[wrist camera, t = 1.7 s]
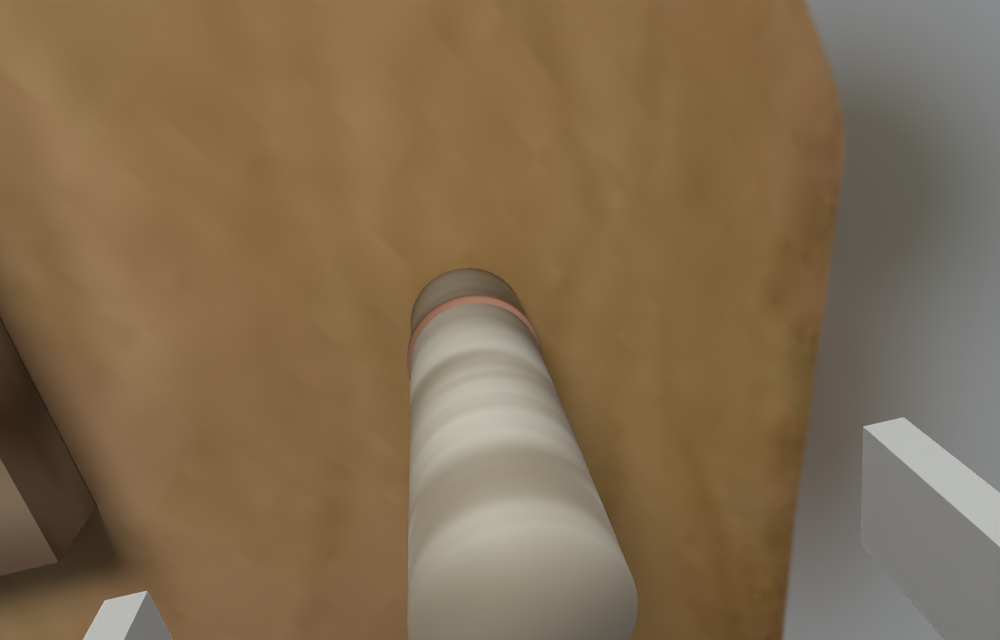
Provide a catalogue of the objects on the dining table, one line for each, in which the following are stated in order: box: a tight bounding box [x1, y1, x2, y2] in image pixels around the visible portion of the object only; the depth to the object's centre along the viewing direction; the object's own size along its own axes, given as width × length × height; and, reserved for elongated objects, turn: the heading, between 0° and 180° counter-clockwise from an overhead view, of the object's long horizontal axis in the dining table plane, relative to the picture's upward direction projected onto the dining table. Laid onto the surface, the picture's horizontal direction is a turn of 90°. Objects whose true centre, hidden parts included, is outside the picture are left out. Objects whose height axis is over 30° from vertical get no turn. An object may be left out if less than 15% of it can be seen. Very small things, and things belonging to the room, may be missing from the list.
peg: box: [407, 268, 638, 640], centre depth 18 cm, size 4×4×14 cm
